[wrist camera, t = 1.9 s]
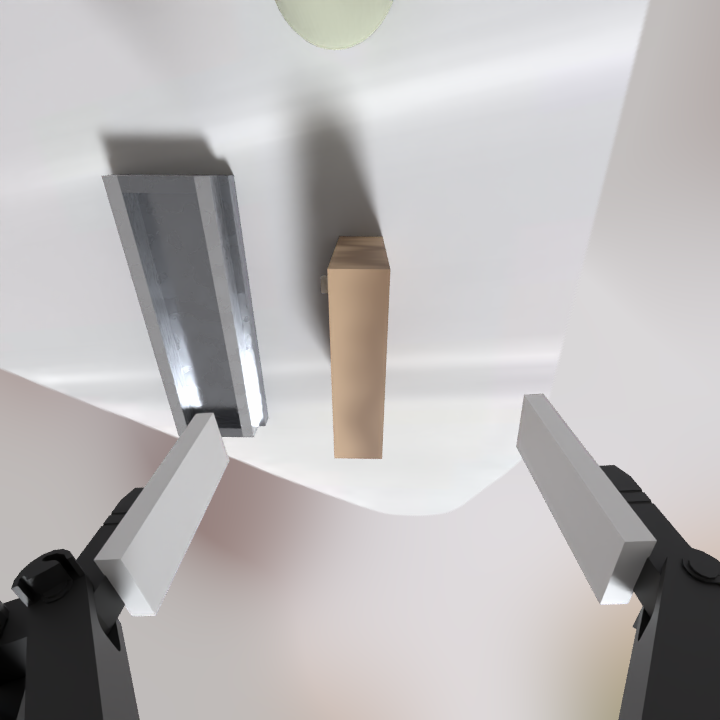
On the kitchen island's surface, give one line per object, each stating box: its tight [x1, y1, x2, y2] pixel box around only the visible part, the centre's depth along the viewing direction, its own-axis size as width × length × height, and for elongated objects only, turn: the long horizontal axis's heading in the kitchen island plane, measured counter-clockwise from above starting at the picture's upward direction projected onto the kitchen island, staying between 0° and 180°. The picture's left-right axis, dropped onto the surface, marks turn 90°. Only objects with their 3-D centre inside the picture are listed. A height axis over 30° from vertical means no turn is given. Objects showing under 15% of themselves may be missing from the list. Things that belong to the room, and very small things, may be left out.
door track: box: [102, 175, 268, 437], centre depth 36 cm, size 10×26×4 cm, turn 0°
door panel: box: [321, 236, 390, 459], centre depth 32 cm, size 5×16×12 cm, turn 0°
